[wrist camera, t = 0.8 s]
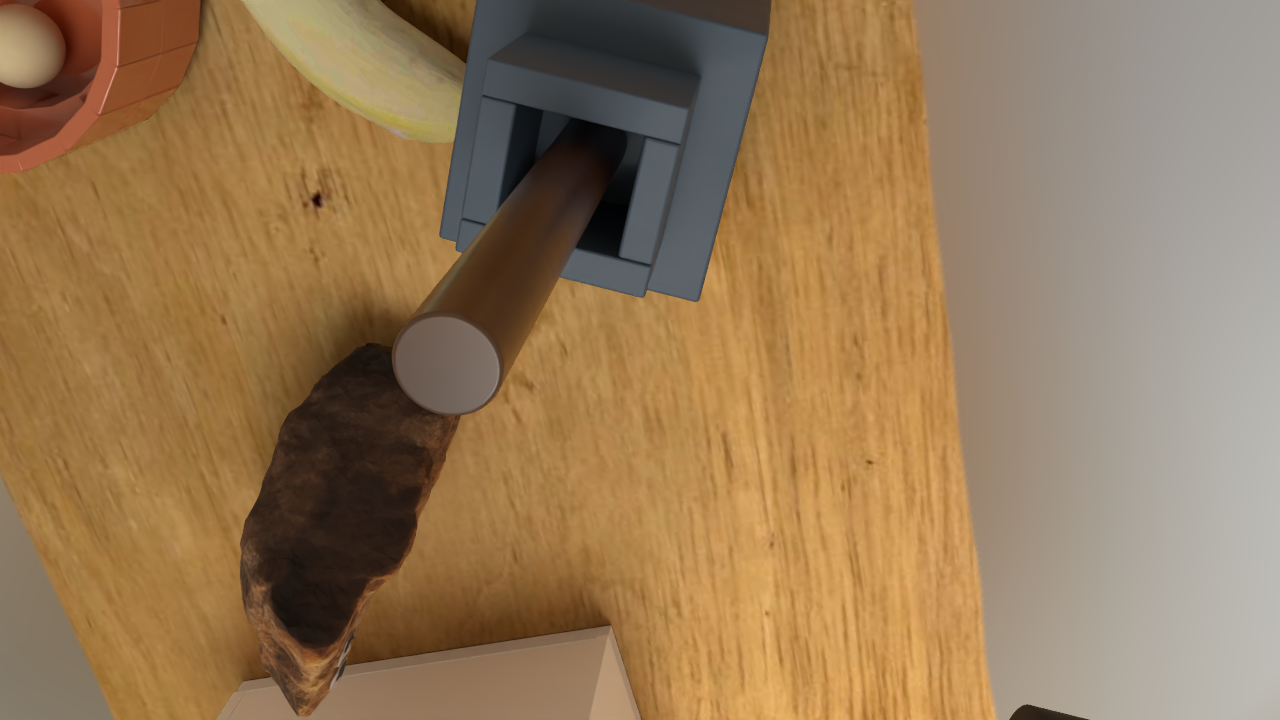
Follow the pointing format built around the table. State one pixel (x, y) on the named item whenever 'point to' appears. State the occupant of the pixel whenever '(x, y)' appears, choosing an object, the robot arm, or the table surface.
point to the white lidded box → (469, 685)
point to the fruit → (369, 63)
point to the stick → (505, 276)
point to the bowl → (97, 76)
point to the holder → (612, 124)
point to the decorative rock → (336, 518)
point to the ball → (29, 47)
